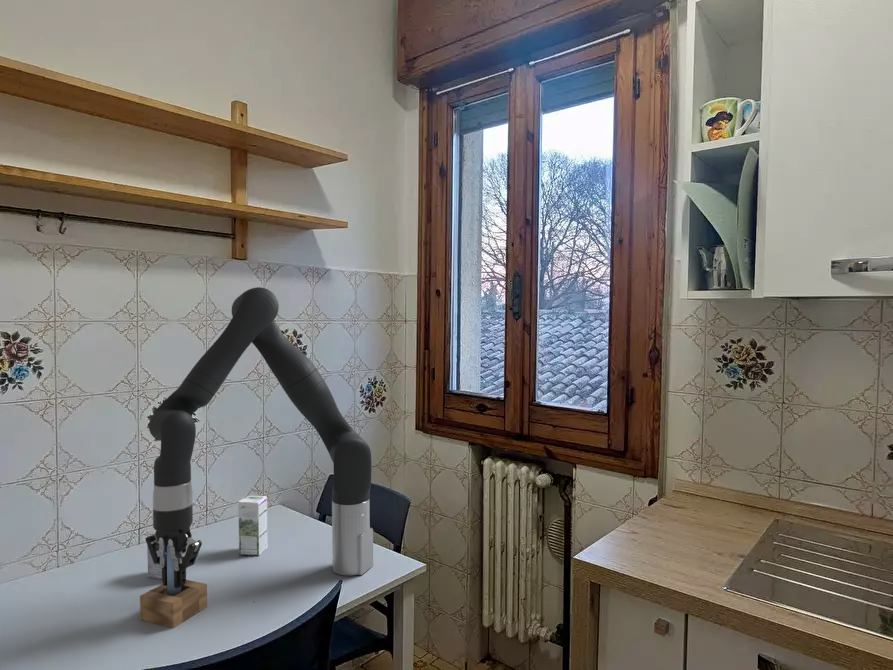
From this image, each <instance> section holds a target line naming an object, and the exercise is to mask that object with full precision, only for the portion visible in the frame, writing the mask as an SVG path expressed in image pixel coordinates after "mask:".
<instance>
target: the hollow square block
mask: <svg viewBox="0 0 893 670" xmlns="http://www.w3.org/2000/svg"><path fill="white" fill-rule="evenodd" d="M204 608H205V609H206V608H208V583H205V582H200V581H194V580H191V579H186V583H185V584H184V585H183V586H182V587H181V593H179V594H177V595H175V596H170V595H167V586H165V585H163V583H162V584H160V585H158V586H156V587H155V588H152V589H150V590H148V591H146V592H145V593H143V594H141V595H139V615H140V616H139V618H140V619H139V620H140V621H143V620H144V621H143V622H147V623H151V624H156V625H160V626H163V627H168V628H172V629H174V628H176V627H177V626H180V625H181V624H182V623H184V622H185V621H187V620H189V619H190V618H192V617H193V616H195V615H197V614H198V613H200V612H201V611H202V610H205V609H204ZM199 611H200V612H199ZM196 613H197V614H196Z"/></svg>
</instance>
